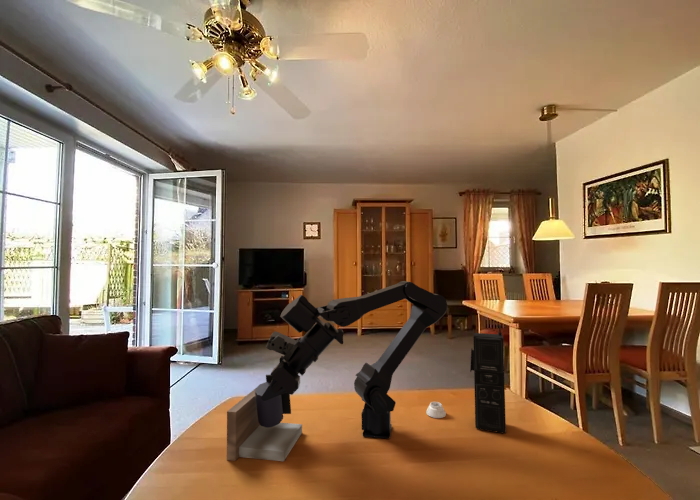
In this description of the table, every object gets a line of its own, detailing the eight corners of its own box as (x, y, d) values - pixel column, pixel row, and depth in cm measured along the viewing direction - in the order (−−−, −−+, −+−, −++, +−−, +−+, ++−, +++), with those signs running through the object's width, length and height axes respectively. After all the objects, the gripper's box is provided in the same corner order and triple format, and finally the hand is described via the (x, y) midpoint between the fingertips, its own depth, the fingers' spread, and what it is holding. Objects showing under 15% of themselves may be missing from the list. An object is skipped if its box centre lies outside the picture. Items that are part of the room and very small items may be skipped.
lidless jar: (434, 420, 88) (449, 417, 90) (433, 409, 88) (449, 406, 90) (422, 413, 92) (437, 409, 94) (422, 402, 93) (437, 399, 95)
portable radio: (470, 429, 83) (468, 326, 84) (471, 418, 88) (469, 322, 89) (506, 435, 80) (503, 328, 81) (504, 423, 86) (502, 324, 86)
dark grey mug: (272, 408, 84) (269, 369, 83) (291, 413, 82) (289, 373, 80) (252, 427, 77) (249, 385, 76) (273, 433, 75) (270, 390, 74)
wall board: (303, 429, 83) (303, 388, 84) (280, 465, 69) (280, 415, 69) (258, 425, 85) (258, 385, 86) (226, 459, 71) (226, 411, 71)
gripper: (293, 314, 87) (250, 358, 87) (280, 328, 69) (226, 384, 68) (324, 343, 87) (282, 388, 87) (320, 366, 69) (266, 423, 68)
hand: (265, 394), depth 77 cm, fingers closed on dark grey mug, 6 cm apart
